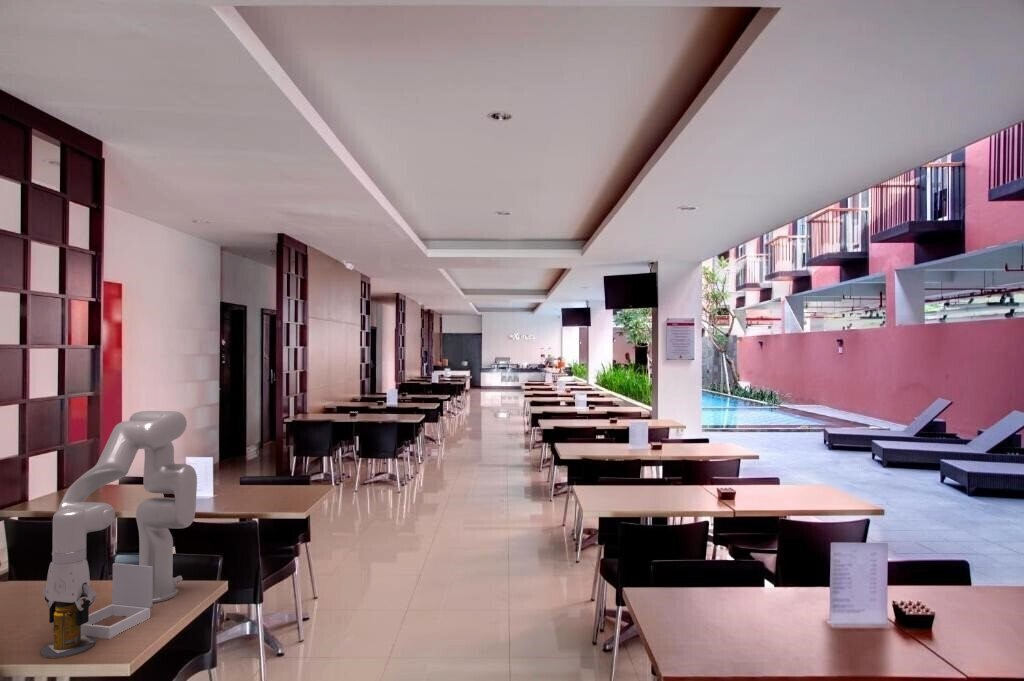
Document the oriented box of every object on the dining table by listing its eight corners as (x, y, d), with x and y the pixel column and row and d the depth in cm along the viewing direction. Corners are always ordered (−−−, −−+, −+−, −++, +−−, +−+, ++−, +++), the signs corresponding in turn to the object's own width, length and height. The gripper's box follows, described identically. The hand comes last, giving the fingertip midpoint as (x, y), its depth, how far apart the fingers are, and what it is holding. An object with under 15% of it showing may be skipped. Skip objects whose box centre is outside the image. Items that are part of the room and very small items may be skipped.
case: (114, 613, 200) (115, 563, 200) (152, 617, 197) (152, 566, 197) (69, 634, 185) (69, 580, 185) (109, 638, 182) (109, 583, 182)
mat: (70, 636, 183) (70, 633, 183) (106, 640, 180) (106, 637, 180) (29, 655, 172) (29, 652, 172) (66, 660, 169) (66, 657, 169)
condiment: (47, 646, 175) (48, 600, 176) (84, 635, 182) (84, 591, 182) (57, 654, 171) (58, 607, 171) (94, 643, 177) (94, 597, 178)
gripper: (30, 558, 175) (29, 625, 175) (83, 563, 171) (83, 631, 171) (56, 550, 182) (55, 614, 182) (108, 554, 178) (107, 620, 178)
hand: (68, 622), depth 176 cm, fingers open, 8 cm apart
